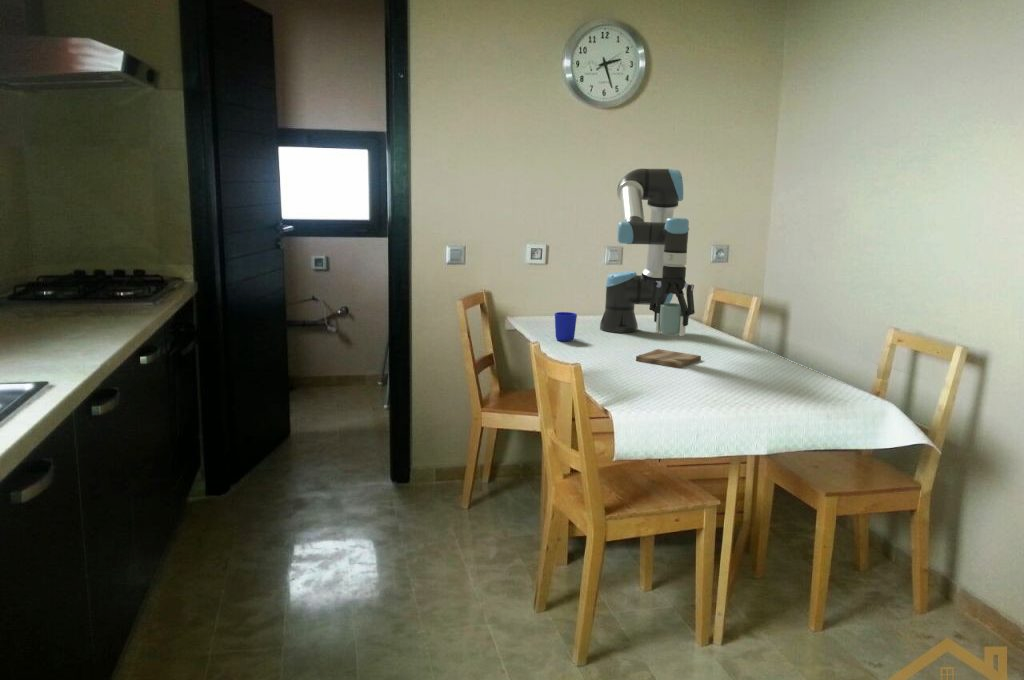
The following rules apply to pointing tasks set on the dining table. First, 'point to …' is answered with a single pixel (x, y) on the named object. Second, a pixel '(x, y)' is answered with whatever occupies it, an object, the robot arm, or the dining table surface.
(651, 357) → the board
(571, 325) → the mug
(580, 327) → the dining table surface
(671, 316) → the cup
